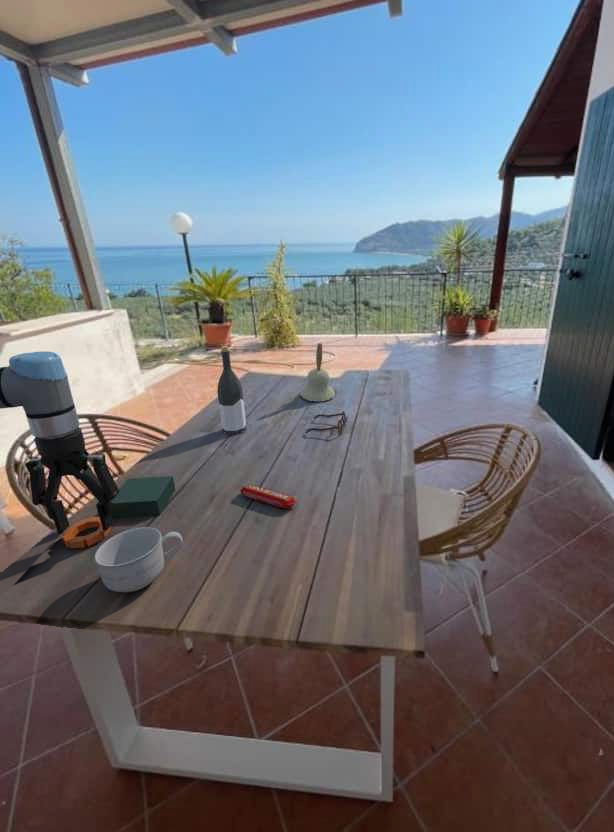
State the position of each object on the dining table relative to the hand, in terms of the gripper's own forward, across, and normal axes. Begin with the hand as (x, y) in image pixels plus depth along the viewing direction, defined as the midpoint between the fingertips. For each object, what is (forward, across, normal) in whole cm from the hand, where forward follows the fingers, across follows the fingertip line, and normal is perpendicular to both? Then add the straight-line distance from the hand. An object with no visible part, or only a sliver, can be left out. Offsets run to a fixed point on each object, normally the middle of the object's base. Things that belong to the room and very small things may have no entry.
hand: (86, 528), depth 83 cm
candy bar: (+3, -37, -9) cm, 38 cm away
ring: (+2, 0, 0) cm, 2 cm away
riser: (+2, -7, -12) cm, 14 cm away
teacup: (+3, -17, +13) cm, 21 cm away
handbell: (+3, -50, -86) cm, 100 cm away
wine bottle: (+3, -21, -54) cm, 58 cm away
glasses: (+3, -53, -52) cm, 74 cm away
